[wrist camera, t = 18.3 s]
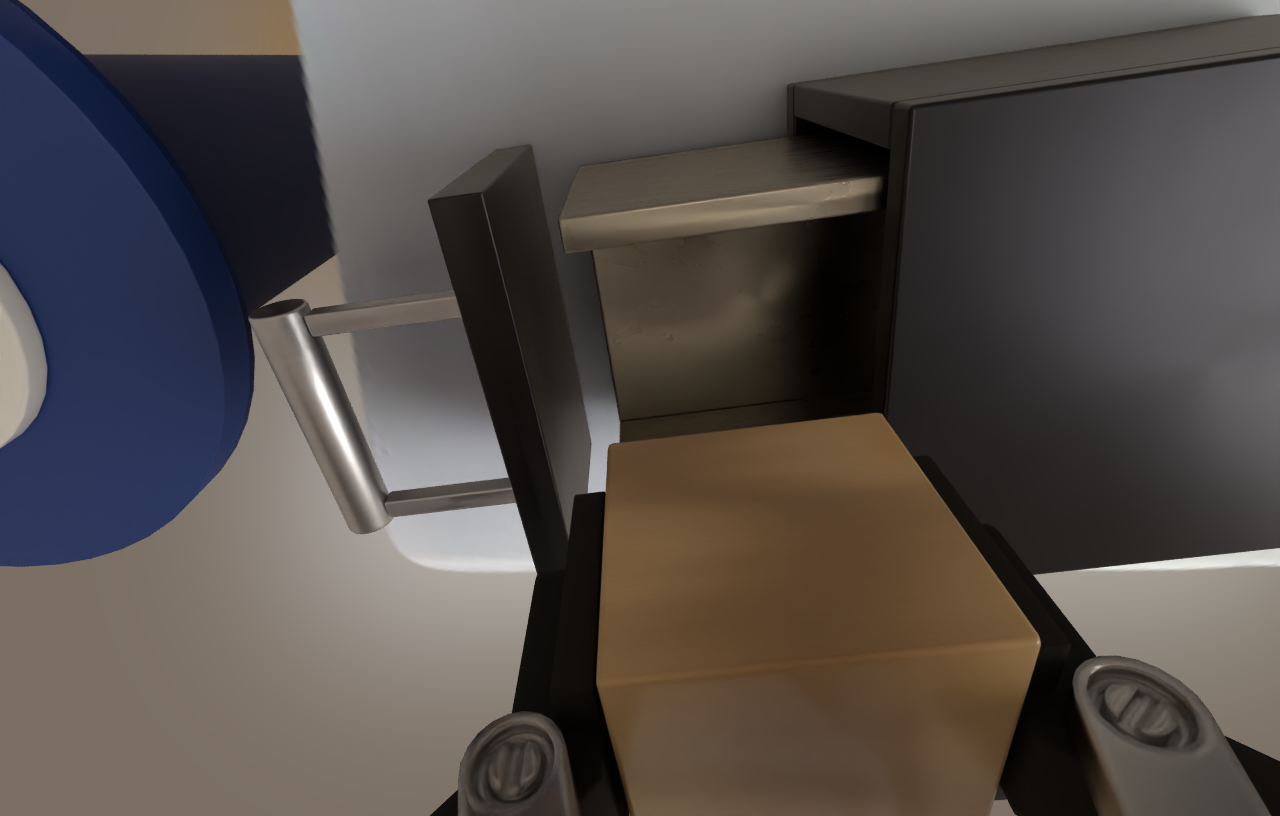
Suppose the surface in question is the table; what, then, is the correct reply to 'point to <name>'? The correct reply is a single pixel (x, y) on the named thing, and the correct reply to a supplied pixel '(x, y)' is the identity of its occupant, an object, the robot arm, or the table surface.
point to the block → (801, 629)
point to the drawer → (621, 314)
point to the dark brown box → (1084, 285)
